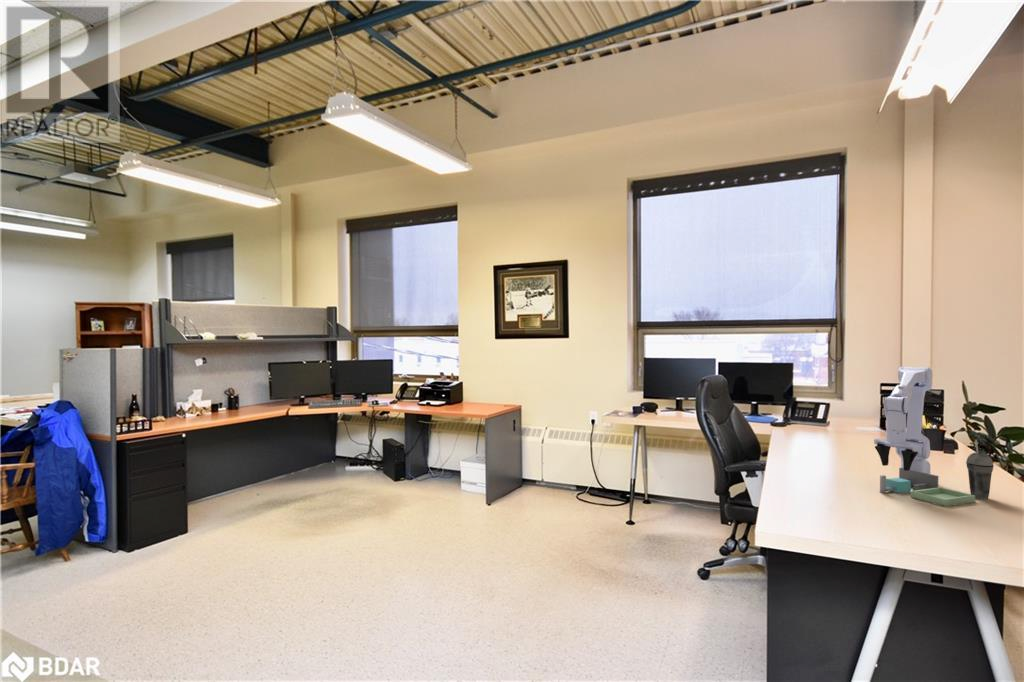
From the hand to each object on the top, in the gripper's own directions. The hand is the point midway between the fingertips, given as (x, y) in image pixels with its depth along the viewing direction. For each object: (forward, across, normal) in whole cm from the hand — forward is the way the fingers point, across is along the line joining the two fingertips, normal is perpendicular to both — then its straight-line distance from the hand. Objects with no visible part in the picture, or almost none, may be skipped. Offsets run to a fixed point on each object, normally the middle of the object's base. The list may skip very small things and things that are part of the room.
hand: (895, 467), depth 189 cm
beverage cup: (+9, +15, +20) cm, 26 cm away
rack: (+8, 0, +8) cm, 12 cm away
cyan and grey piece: (+8, 0, -2) cm, 9 cm away
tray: (+8, +12, +4) cm, 16 cm away
